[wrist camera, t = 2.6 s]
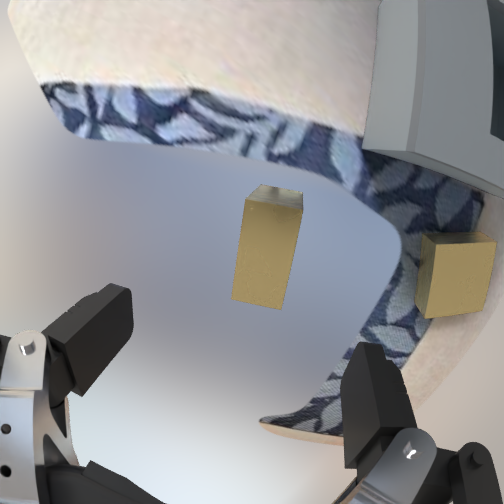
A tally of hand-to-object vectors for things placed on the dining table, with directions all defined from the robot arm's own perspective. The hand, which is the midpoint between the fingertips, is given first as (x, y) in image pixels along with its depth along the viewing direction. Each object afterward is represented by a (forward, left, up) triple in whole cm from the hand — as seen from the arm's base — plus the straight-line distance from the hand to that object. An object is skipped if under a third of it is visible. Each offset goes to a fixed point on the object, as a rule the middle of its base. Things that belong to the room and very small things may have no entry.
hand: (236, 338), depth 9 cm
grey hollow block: (-13, +11, -13) cm, 21 cm away
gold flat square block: (0, 0, -13) cm, 13 cm away
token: (0, +15, -13) cm, 20 cm away
